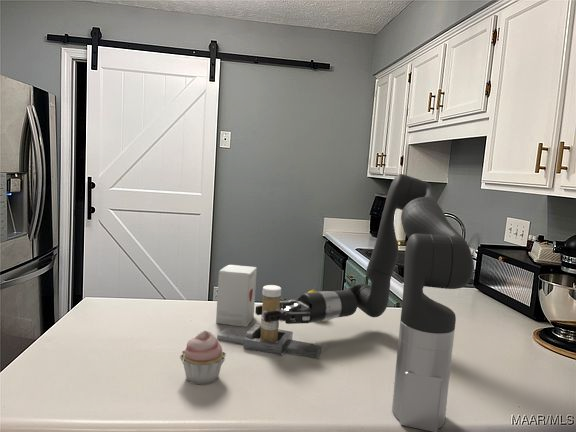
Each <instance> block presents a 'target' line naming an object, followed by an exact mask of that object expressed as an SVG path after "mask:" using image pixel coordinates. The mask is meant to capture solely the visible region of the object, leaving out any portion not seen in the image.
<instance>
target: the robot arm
mask: <svg viewBox="0 0 576 432" xmlns="http://www.w3.org/2000/svg"><path fill="white" fill-rule="evenodd" d="M435 195H436V194H435V191H434V188H433V186H432V184H430V183H429V182H427V181H425V180H422V179H418V178H416V177H413V176H411V175H406V174H402V173H399V174H397V175H396V176H394V178H393V180H392V182H391V183H390V186H389V188H388V191H387V195H386V200H385V203H384V207H383V211H382V214H381V219H380V222H379V226H378V227H379V229H378V232H377V237H376V241H375V244H374V248H373V250H372V253H371V255H370V259H369V261H368V264H367V267H366V268H365V269H366V271H365V274H366V277H367V279H369V281H370V283H371V284H370V285H369V284H367V283H357V284H354V285H352V286H349V287H348V288H344V289H343V290H342V289H341V290H333V291H330V290H329V291H328V290H326V291H325V290H322V291H317V292H312V293H307V292H305V293H302V294H300V296H299V298H298V299H297V300H296V299H289V300H287V297H286V296H282V297H280V312H279V311H272V312H265V314H264V321H266V322H271V321H278V320H279V322H281V323H282V322H284V323H285V325H286V324H287V325H289V324H290V325H291V324H292V325H294V324H312V323H317V322H325V321H330V320H335V319H337V318H342V317H343V318H344V317H349V316H352V315H354V314H355V312H357V309H359V310H361V311H362V312H363V313H364V314H366V315H367V316H368V317H371V318H378V317H380V316H382V315H383V314H384V312H385V311H386V310H387V307H388V304H389V298H390V290H391V279H392V276H393V274H394V271H395V268H396V266H397V263H398V259H399V250H400V249H399V245H398V240H397V236H396V231H395V214H396V210H397V209H398V210H401V211H402V212H401V216H400V219H401V225H402V229H403V232H404V235H405V236H406V237H407V239H408V240H407V242H406V244H405V249H404V250H405V251H404V263H403V264H404V265H403V267H404V268H403V269H404V270H403V271H404V272H403V289H402V290H403V291H402V299H401V301H402V302H401V311H400V323H399V331H398V343H397V350H396V351H397V352H396V363H395V374H394V382H393V384H394V385H393V395H392V397H393V398H392V406H391V407H392V408H391V411H392V414H393V415H394V417H396V419H397V420H399V425H401V426H406V427H408V428H409V427H410V428H415V429H420V430H424V431H427V432H438V431H439V429H440V428H442V427H443V426H444V425H445V421H446V414H447V413H446V411H447V406H448V395H449V394H448V393H449V383H450V376H451V367H452V366H451V365H452V356H453V347H454V341H455V340H454V339H455V330H456V321H457V317H456V313H455V312H454V311H453V309H451V308H450V307H448V306H447V305H444V304H442V303H440V302H438V301H435V300H433V299H431V298H430V297H429V296H428V295H426V294H425V293H424V290H423V289H424V288H425V287H426V288H434V289H436V288H437V289H445V290H457V289H462V288H464V287H465V286H466V285H468V284H469V283H470V281H471V279H472V276H473V272H474V259H473V254H472V251H471V247H470V245H469V244H468V241H466V240H465V238H464V237H463V236H462V235H461V234H460V233H459V232H458V231H457V230H456V229H455V228H454V227H453V226H452V225H451V223H450V222H449V221H448V219H447V217H446V215H445V213H444V212H443V209H442V208H441V206H440V205H439V203H438V201H437V199H436V196H435ZM254 313H255V315H256V316H262V305H261V304H260V305H256V306H255V310H254Z"/></svg>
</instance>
